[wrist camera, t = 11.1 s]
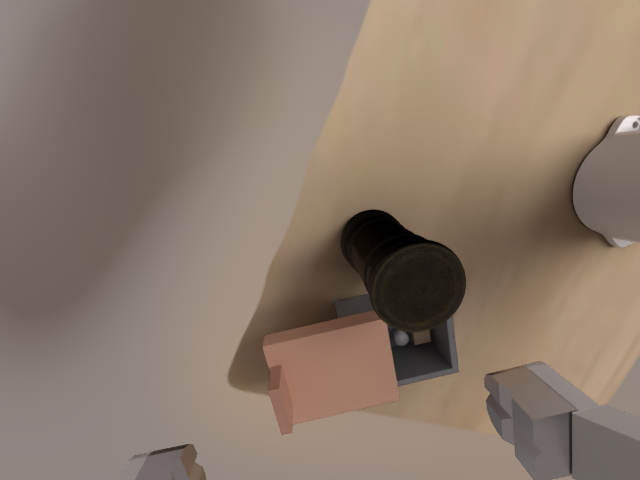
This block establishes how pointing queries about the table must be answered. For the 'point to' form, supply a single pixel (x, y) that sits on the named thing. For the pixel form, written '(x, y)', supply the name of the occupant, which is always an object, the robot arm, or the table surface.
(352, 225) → the container
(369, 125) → the table surface
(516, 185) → the table surface
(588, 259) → the table surface
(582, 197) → the robot arm
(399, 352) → the tub
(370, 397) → the lid
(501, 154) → the table surface
